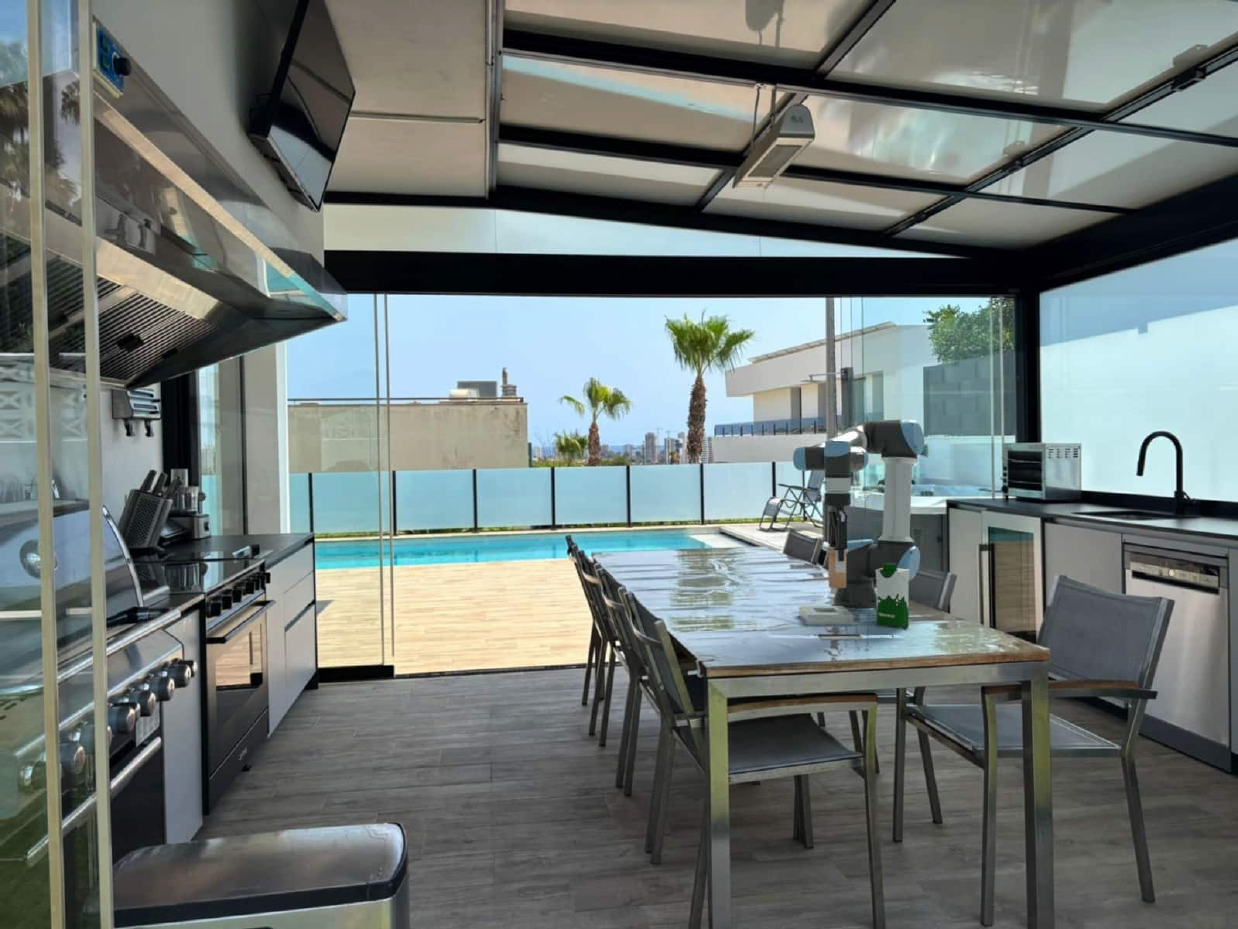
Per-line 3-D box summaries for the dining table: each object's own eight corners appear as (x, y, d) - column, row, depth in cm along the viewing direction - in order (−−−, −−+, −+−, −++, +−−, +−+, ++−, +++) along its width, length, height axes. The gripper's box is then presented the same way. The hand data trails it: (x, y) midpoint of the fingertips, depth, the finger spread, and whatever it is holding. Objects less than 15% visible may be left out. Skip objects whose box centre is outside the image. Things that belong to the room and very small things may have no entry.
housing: (842, 618, 270) (842, 606, 270) (853, 627, 256) (853, 614, 256) (799, 618, 271) (799, 606, 271) (807, 627, 257) (807, 615, 257)
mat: (853, 630, 252) (853, 629, 252) (863, 640, 240) (863, 638, 240) (813, 630, 253) (813, 629, 253) (821, 640, 241) (821, 638, 241)
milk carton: (872, 628, 256) (872, 563, 255) (885, 623, 262) (885, 559, 262) (900, 632, 250) (900, 565, 249) (913, 627, 256) (913, 562, 256)
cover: (845, 585, 249) (845, 548, 249) (850, 588, 243) (850, 550, 243) (825, 585, 249) (825, 548, 249) (829, 588, 243) (829, 551, 243)
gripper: (818, 490, 255) (818, 566, 255) (831, 494, 236) (832, 575, 237) (842, 490, 255) (842, 566, 255) (858, 494, 236) (858, 575, 236)
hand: (837, 570), depth 246 cm, fingers closed on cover, 6 cm apart
